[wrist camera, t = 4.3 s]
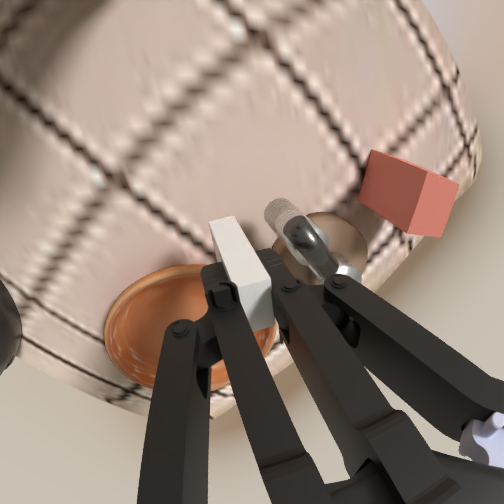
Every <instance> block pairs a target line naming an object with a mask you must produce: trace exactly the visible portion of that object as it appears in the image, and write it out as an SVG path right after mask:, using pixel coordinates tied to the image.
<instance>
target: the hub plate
mask: <svg viewBox="0 0 504 504" xmlns="http://www.w3.org/2000/svg"><path fill="white" fill-rule="evenodd" d="M306 216H307V217H308V218H309V219H310V220H311V221H312V222H314V223H315V224H316V225H317V226H318V227H319V228H320V229H321V230H322V231H324V232H325V233H326V234H327V235H328V237H329V239H330V248H329V250H330V251H331V252H337V253H340V254H342V255H343V256H344V257H345V258H346V259H347V260H348V261H349V262H350V263H351V264H352V265H353V266H354V267H356V268H357V269H358V270H359V272H360V274H361V276H362V273H363V271H364V269H365V266H366V262H367V244H366V241H365V239H364V237H363V235H362V234H361V233H360V232H359V231H358V230H357V229H356V228H354V227H353V226H352V225H350V224H349V223H348V222H347V221H345V220H344V219H343V218H341V217H340V216H338V215H336V214H333V213H329V212H316V213H312V214H308V215H306ZM272 250H274V251H276V252H277V253H278V255H279V256H280V258H281V259H282V260H283V262H284V263H285V265H286V266H287V267H288V269H289V270H290V272H291V273H292V275H293V276H294V277H295V278H298V279H301V280H302V281H303V282H304V283H305V284H306V285H309V284H308V282H307V276H308V272H309V269H310V267H309V266H307V265H302V264H300V263H299V262H298V261H297V260H296V258H295V257H294V256H293V255H292V253H291V252H290V251H289V250H288V248H287V247H286V246H285V245H284V243H283V242H282V241H281V240H280V238H279V237H278V238H277V240H276V242H275V243H274V245H273V248H272Z"/></svg>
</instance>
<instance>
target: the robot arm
mask: <svg viewBox="0 0 504 504" xmlns="http://www.w3.org/2000/svg"><path fill="white" fill-rule="evenodd" d="M209 226H210V231H211V235H212V240H213V244H214V249H215V253H216V258H217V261H218V263H214V264H210V265H206V266H203V267H202V270H201V272H200V275H201V279H202V283H203V286H204V290H205V297H206V301H207V304H208V310H207V312H206V313H205V315H204V316H203V317H201V318H200V319H198V320H196V321H195V322H193V321H191V320H189V319H180V320H176V321H174V322H172V323H171V324H170V325H169V326H168V327H167V328H166V330H165V333H164V338H163V343H162V347H161V352H160V357H159V362H158V367H157V372H156V377H155V382H154V387H153V393H152V398H151V404H150V410H149V416H148V422H147V428H146V435H145V441H144V448H143V455H142V462H141V470H140V479H139V487H138V496H137V504H208V448H209V418H210V394H211V373H212V367H211V366H212V365H214V364H216V363H217V362H219V361H221V360H222V359H223V361H224V364H225V367H226V371H227V374H228V377H229V380H230V384H231V387H232V390H233V393H234V396H235V400H236V403H237V406H238V409H239V412H240V415H241V418H242V421H243V424H244V427H245V430H246V433H247V436H248V439H249V442H250V444H251V447H252V450H253V453H254V456H255V459H256V461H257V464H258V467H259V470H260V474H261V476H262V479H263V482H264V484H265V487H266V490H267V492H268V495H269V497H270V500H271V502H272V504H504V381H502V380H499V379H496V378H493V377H490V376H489V375H488V374H486V373H485V372H484V371H483V370H481V369H480V368H478V367H477V366H476V365H474V364H473V363H472V362H471V361H469V360H468V359H467V358H465V357H464V356H462V355H461V354H460V353H458V352H457V351H456V350H454V349H453V348H452V347H450V346H449V345H447V344H446V343H445V342H443V341H442V340H441V339H439V338H438V337H436V336H435V335H434V334H432V333H431V332H429V331H428V330H426V329H425V328H424V327H422V326H421V325H420V324H418V323H417V322H415V321H414V320H412V319H411V318H409V317H408V316H407V315H405V314H404V313H402V312H401V311H400V310H398V309H397V308H395V307H394V306H392V305H391V304H389V303H388V302H387V301H385V300H384V299H382V298H381V297H379V296H378V295H376V294H375V293H373V292H372V291H370V290H369V289H368V288H366V287H365V286H363V285H362V284H360V283H359V282H357V281H356V280H354V279H353V278H351V277H350V276H347V275H345V274H332V275H330V276H328V277H327V278H325V281H324V284H320V285H306V284H305V283H304V282H303V281H302V280H301V279H298V278H295V277H294V276H293V275H292V273H291V272H290V270H289V269H288V267H287V266H286V265H285V263H284V262H283V260H282V259H281V258H280V256H279V255H278V253H277V252H276V251H274V250H272V249H270V248H268V249H264V250H260V251H256V252H255V251H254V249H253V248H252V246H251V244H250V243H249V241H248V239H247V237H246V236H245V234H244V232H243V231H242V229H241V227H240V226H239V224H238V222H237V221H236V219H235V217H234V216H229V217H225V218H221V219H217V220H213V221H209ZM275 318H276V320H277V322H278V324H279V335H280V342H281V344H282V343H283V340H284V342H285V344H286V346H287V348H288V350H289V352H290V354H291V356H292V358H293V360H294V362H295V364H296V366H297V368H298V370H299V372H300V374H301V376H302V378H303V380H304V382H305V384H306V386H307V388H308V389H309V391H310V393H311V395H312V397H313V399H314V401H315V403H316V405H317V407H318V409H319V411H320V413H321V414H322V417H323V419H324V420H325V422H326V424H327V426H328V428H329V430H330V432H331V434H332V436H333V438H334V440H335V442H336V443H337V445H338V447H339V449H340V451H341V453H342V456H343V459H344V465H345V468H346V470H347V472H348V474H349V476H350V479H348V480H345V481H340V482H335V483H329V484H324V482H323V480H322V478H321V476H320V473H319V471H318V469H317V467H316V465H315V463H314V461H313V459H312V457H311V456H310V454H309V453H308V452H306V450H305V449H304V447H303V445H302V442H301V441H300V438H299V436H298V434H297V432H296V429H295V427H294V425H293V423H292V421H291V418H290V416H289V414H288V412H287V409H286V407H285V405H284V403H283V401H282V398H281V396H280V394H279V392H278V389H277V387H276V385H275V382H274V380H273V378H272V375H271V373H270V371H269V368H268V366H267V364H266V362H265V359H264V357H263V355H262V352H261V350H260V347H259V345H258V343H257V340H256V338H255V336H254V333H253V332H255V331H258V330H261V329H265V328H268V327H271V326H274V325H276V322H275ZM21 336H22V328H21V321H20V317H19V314H18V311H17V308H16V306H15V304H14V301H13V299H12V298H11V296H10V294H9V292H8V290H7V289H6V287H5V286H4V284H3V283H2V282H1V280H0V375H1V374H2V372H3V371H4V370H5V369H6V368H7V367H8V366H9V365H10V364H11V363H12V362H13V360H14V358H15V356H16V353H17V350H18V347H19V344H20V341H21ZM364 366H365V367H366V368H367V369H368V370H369V371H370V372H371V373H373V374H374V375H375V376H376V377H377V378H378V379H379V380H381V381H382V382H383V383H384V384H385V385H386V386H387V387H389V388H390V389H391V390H392V391H393V392H394V393H395V394H397V395H398V396H399V397H400V398H401V399H402V400H404V401H405V402H406V403H407V404H408V405H409V406H411V407H412V408H413V409H414V410H415V411H416V412H418V413H419V414H420V415H421V416H422V417H423V418H424V419H426V420H427V421H428V422H429V423H430V424H431V425H433V426H434V427H435V428H436V429H438V430H439V431H440V432H442V433H443V434H444V435H446V436H448V437H450V438H452V439H453V440H456V441H458V442H460V446H459V453H460V454H461V455H462V456H468V457H470V458H471V459H472V460H473V461H469V460H466V459H462V458H458V457H454V456H450V455H447V454H443V453H440V452H437V451H434V450H431V449H430V447H429V446H428V444H427V443H426V441H425V440H424V438H423V437H422V435H421V434H420V433H419V431H418V429H417V428H416V427H415V426H414V424H413V422H412V421H411V419H410V418H409V417H408V416H407V414H406V413H405V412H403V411H402V410H395V409H393V408H392V407H391V406H390V404H389V403H388V401H387V400H386V398H385V397H384V395H383V394H382V392H381V391H380V389H379V388H378V387H377V385H376V383H375V382H374V380H373V379H372V378H371V376H370V375H369V373H368V372H367V370H366V369H365V367H364Z"/></svg>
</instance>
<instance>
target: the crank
mask: <svg viewBox="0 0 504 504" xmlns="http://www.w3.org/2000/svg"><path fill="white" fill-rule="evenodd" d="M264 217H265V221H266V222H267V224H268V225H269V226H270V227H271V228H272V230H273V231H274V232H275V233H276V235H277V236H278V237H279V238H280V240H281V241H282V242H283V243H284V245H285V246H286V247H287V248H288V250H289V251H290V252H291V253H292V255H293V256H294V257H295V258H296V260H297V261H298V262H299V263H300V264H302V265H307V266H309V267H310V269H309V272H308V276H307V282H308V284H309V285H320V284H324V281H325V278H327V277H328V276H330V275H332V274H345V275H347V276H350V277H351V278H353V279H354V280H356V281H357V282H359V283H360V284H361V279H362V278H361V274H360V272H359V270H358V269H357V268H356V267H354V266H353V265H352V264H351V263H350V262H349V261H348V260H347V259H346V258H345V257H344V256H343V255H342V254H340V253H337V252H331V251H330V250H329V248H330V239H329V237H328V235H327V234H326V233H325V232H324V231H322V230H321V229H320V228H319V227H318V226H317V225H316V224H315V223H314V222H312V221H311V220H310V219H309V218H308V217H307V216H306V215H305V214H304V213H302V212H301V211H300V210H299V209H298V208H297V207H296V206H294V205H293V204H292V203H291V202H290V201H289V200H287V199H284V198H279V199H275V200H273V201H272V202H270V203H269V204H268V206H267V207H266V209H265V213H264Z"/></svg>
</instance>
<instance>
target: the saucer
mask: <svg viewBox="0 0 504 504" xmlns="http://www.w3.org/2000/svg"><path fill="white" fill-rule="evenodd" d="M203 266H206V265H180V266H174V267H169V268H165V269H162V270H159V271H156V272H153V273H151V274H149V275H147V276H145V277H143V278H141V279H139V280H138V281H136V282H135V283H133V284H132V285H131V286H129V287H128V288H127V289H126V290H125V291H124V292H123V293H122V294H121V295H120V296H119V297H118V298H117V300H116V301H115V302H114V304H113V306H112V308H111V310H110V312H109V314H108V317H107V320H106V323H105V330H104V340H105V346H106V349H107V352H108V354H109V357H110V358H111V360H112V362H113V363H114V364H115V366H116V367H117V368H118V369H119V370H120V371H121V372H122V373H123V374H124V375H125V376H127V377H128V378H130V379H131V380H133V381H134V382H136V383H138V384H140V385H142V386H144V387H147V388H150V389H153V387H154V382H155V377H156V372H157V367H158V362H159V357H160V352H161V347H162V343H163V338H164V333H165V330H166V328H167V327H168V326H169V325H170V324H171V323H172V322H174V321H176V320H180V319H189V320H191V321H193V322H195V321H196V320H198V319H200V318H201V317H203V316H204V315H205V313H206V312H207V310H208V304H207V301H206V297H205V290H204V286H203V283H202V279H201V275H200V272H201V270H202V267H203ZM275 322H276V318H275ZM253 333H254V336H255V338H256V340H257V343H258V345H259V347H260V350H261V352H262V355H263V357H264V358H265V357H266V355H267V354H268V352H269V350H270V348H271V346H272V344H273V342H274V338H275V334H276V325H274V326H271V327H268V328H265V329H261V330H258V331H255V332H253ZM211 367H212V373H211V391H212V390H216V389H219V388H222V387H225V386H227V385H230V380H229V377H228V374H227V371H226V367H225V364H224V361H223V359H222V360H221V361H219V362H217V363H216V364H214V365H212V366H211Z"/></svg>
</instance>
